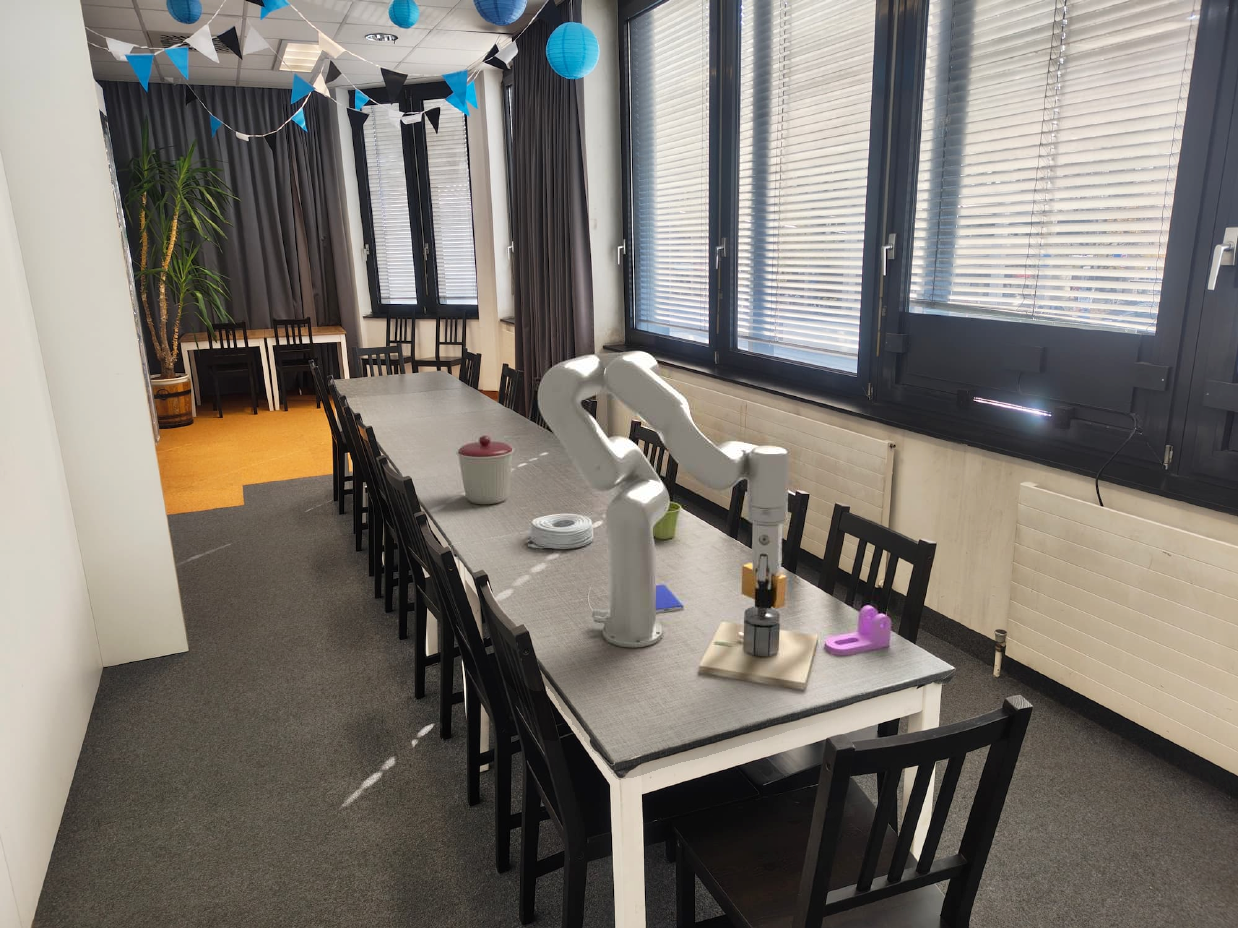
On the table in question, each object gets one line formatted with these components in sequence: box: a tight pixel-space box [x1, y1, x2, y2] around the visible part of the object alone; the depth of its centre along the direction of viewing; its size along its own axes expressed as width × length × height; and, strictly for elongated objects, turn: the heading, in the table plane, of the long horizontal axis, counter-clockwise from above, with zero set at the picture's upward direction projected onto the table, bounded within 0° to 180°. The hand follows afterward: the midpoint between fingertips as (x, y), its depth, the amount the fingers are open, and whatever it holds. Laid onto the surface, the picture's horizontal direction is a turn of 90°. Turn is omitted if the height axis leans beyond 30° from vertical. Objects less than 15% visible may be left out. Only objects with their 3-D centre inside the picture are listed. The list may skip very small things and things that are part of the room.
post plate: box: [698, 621, 819, 691], centre depth 163 cm, size 20×20×8 cm
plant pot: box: [653, 501, 682, 540], centre depth 231 cm, size 9×9×9 cm
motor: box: [738, 562, 787, 656], centre depth 162 cm, size 7×10×16 cm, turn 38°
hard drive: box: [656, 584, 685, 614], centre depth 190 cm, size 2×8×12 cm
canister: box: [455, 435, 515, 505], centre depth 263 cm, size 18×18×21 cm
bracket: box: [824, 604, 892, 656], centre depth 168 cm, size 13×6×7 cm, turn 111°
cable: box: [525, 513, 594, 550], centre depth 229 cm, size 18×18×6 cm
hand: (764, 599), depth 161 cm, fingers closed on motor, 5 cm apart
